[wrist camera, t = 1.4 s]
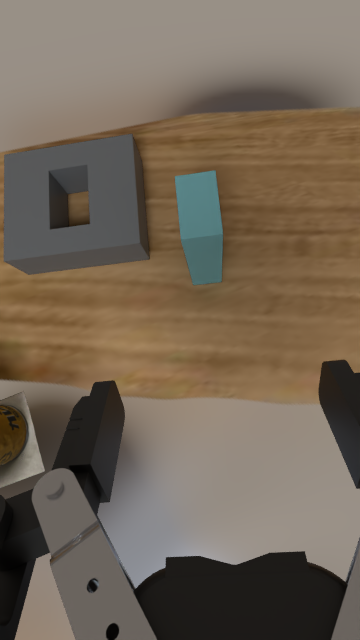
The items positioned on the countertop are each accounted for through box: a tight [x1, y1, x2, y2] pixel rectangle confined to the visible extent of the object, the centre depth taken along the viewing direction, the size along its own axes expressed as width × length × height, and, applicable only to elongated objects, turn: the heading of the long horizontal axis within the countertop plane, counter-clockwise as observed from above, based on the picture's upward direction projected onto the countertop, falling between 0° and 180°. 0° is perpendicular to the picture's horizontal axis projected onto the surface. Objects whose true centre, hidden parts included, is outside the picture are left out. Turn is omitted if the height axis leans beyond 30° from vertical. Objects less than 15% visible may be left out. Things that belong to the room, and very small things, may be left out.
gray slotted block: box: [4, 134, 149, 275], centre depth 36 cm, size 14×12×4 cm
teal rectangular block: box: [175, 170, 223, 285], centre depth 30 cm, size 3×5×12 cm, turn 5°
